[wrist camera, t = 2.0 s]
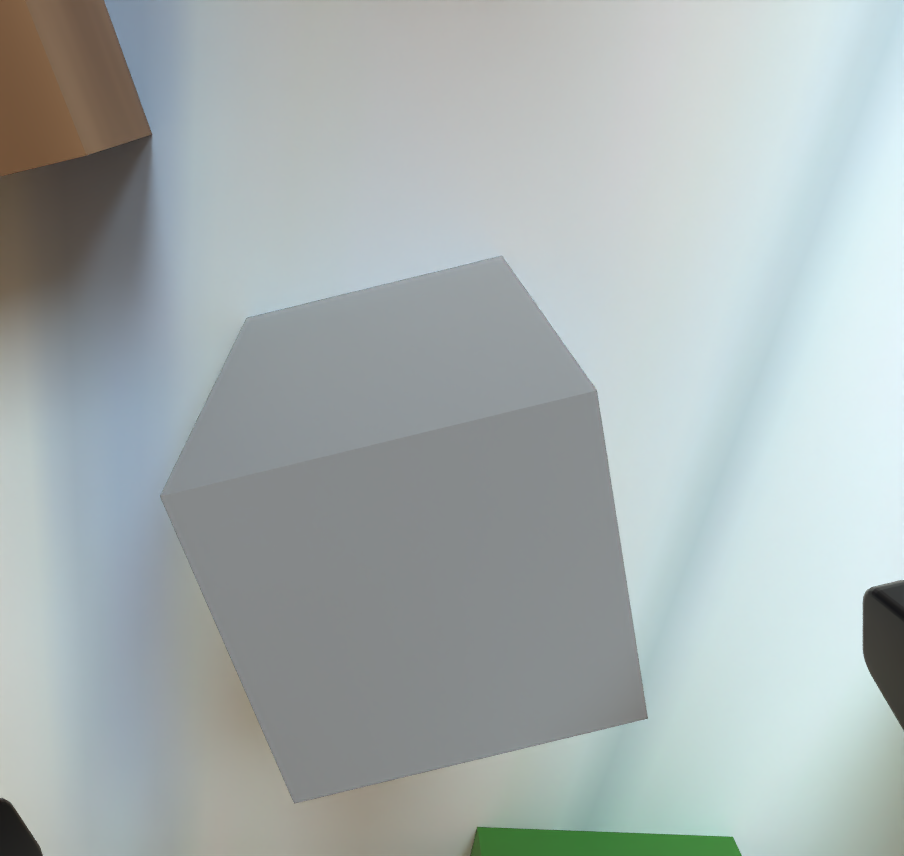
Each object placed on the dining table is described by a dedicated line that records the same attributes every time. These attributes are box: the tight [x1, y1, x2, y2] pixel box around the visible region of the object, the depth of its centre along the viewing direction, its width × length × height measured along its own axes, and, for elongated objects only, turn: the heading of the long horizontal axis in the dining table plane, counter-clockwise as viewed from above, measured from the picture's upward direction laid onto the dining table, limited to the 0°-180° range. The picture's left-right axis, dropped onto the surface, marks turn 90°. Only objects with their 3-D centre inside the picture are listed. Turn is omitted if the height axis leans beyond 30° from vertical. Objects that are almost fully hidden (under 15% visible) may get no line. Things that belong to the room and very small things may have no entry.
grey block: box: [160, 256, 648, 803], centre depth 13 cm, size 5×5×7 cm
